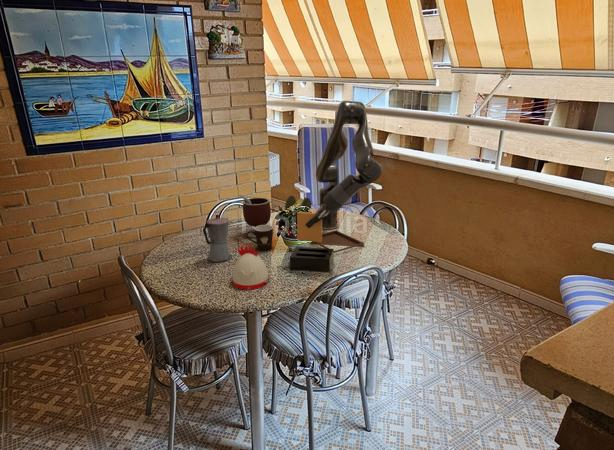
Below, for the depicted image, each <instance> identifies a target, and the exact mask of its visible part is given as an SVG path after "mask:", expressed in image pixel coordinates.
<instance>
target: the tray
mask: <svg viewBox="0 0 614 450" xmlns="http://www.w3.org/2000/svg"><path fill="white" fill-rule="evenodd" d="M310 244H311V245H319V246H320V247H321V248H328V249H331V248H330V247H328V246H338V247H343V248H339V249H336V250H334V254H335V253H339V252H343V251H346V250H349V249H353V248H355V247H357V248H365V242H363V241H360V240H358V239H356V238H354V237H352V236H349V234H345V233H343V232H341V231H339V230H332V231H327V232H324V233H323V232H322V242H311V243H310Z"/></svg>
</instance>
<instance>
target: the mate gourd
mask: <svg viewBox="0 0 614 450" xmlns="http://www.w3.org/2000/svg"><path fill="white" fill-rule="evenodd" d="M239 197H241V198H242V199H243V204H242V216H243V219H244V222H245V223H246V224H247V225H248V226H250V227H254V228H255V227H256V226H259V225H268V223H269V222H270V220H271V215H272V210H271V209H272V208H271V202H270V199H268V198H265V197H251V198H248V197H247V196H245V195H242V194H239ZM254 228H251V229H248V230H247V231H246V232H245V235H247V233H248V232H249V231H253V232H255V230H254ZM247 236H248V237H249V238H255V239H256V236H255V235H254V234H253V233H248V235H247ZM247 236H246V237H247Z"/></svg>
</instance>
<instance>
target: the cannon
mask: <svg viewBox="0 0 614 450" xmlns="http://www.w3.org/2000/svg"><path fill="white" fill-rule="evenodd" d="M292 205H294V206H307V207H309V208H311V209H312V201H311V198H309V197H304V198H302V197H300V198H299V199H298V200H296V198H295V196H294V195H289V196H287V198H286V200H285V205H284V210H285V209H287V208H289V207H290V206H292Z"/></svg>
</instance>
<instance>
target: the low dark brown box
mask: <svg viewBox="0 0 614 450" xmlns="http://www.w3.org/2000/svg"><path fill="white" fill-rule="evenodd" d="M328 248H329V247H328ZM328 248H324V247H311V246H310V247H307V246H295V247H294V249H293V250H292V251H291V252H290V256H289V270H290V271H299V272H304V271H305V272H316V273H331V269H332V267H333V264H334V262H335V261H334V257H335V255H334V254H335V253H334V251H335V250H334V248H330V249H328Z"/></svg>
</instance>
